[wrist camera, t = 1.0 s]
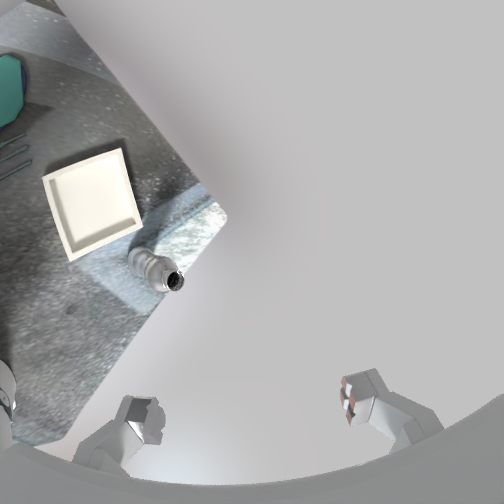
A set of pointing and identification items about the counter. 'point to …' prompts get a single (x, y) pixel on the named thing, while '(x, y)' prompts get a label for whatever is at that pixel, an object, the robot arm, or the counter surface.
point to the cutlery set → (11, 99)
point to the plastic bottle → (155, 269)
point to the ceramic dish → (92, 203)
